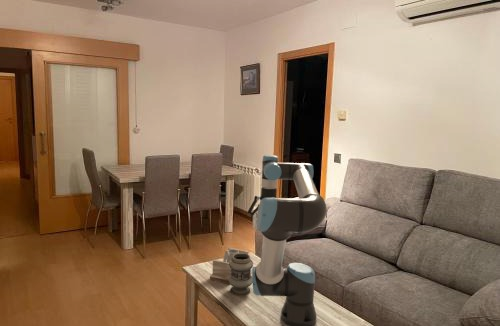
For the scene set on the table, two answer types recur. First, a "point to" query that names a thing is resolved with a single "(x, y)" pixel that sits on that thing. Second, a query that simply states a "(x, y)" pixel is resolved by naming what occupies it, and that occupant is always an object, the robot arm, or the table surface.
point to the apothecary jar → (240, 274)
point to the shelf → (222, 269)
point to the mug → (229, 254)
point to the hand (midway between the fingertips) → (267, 229)
